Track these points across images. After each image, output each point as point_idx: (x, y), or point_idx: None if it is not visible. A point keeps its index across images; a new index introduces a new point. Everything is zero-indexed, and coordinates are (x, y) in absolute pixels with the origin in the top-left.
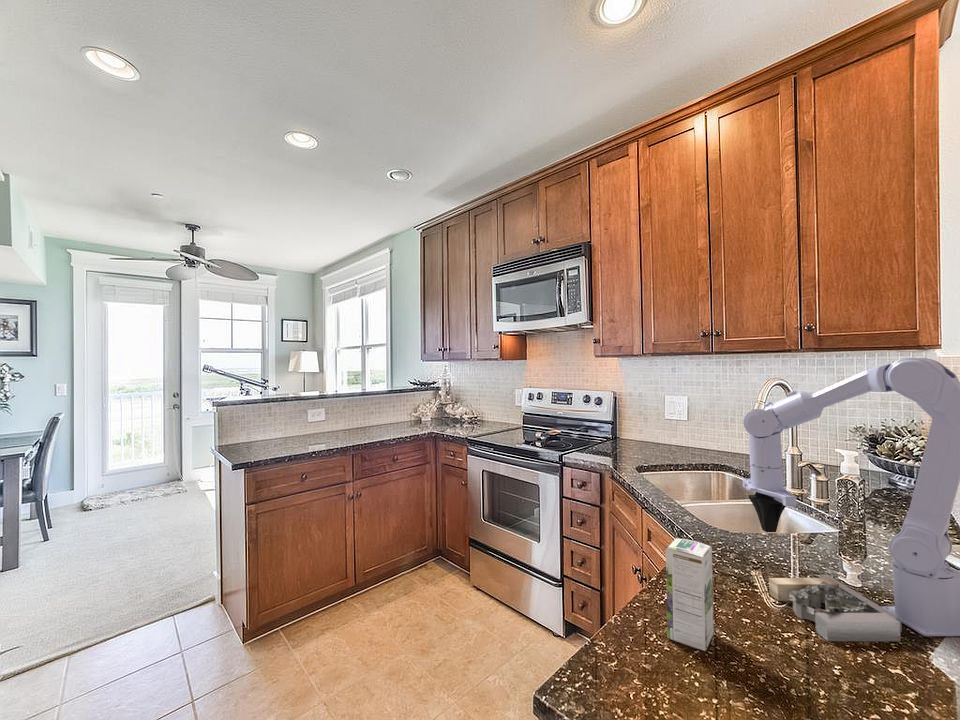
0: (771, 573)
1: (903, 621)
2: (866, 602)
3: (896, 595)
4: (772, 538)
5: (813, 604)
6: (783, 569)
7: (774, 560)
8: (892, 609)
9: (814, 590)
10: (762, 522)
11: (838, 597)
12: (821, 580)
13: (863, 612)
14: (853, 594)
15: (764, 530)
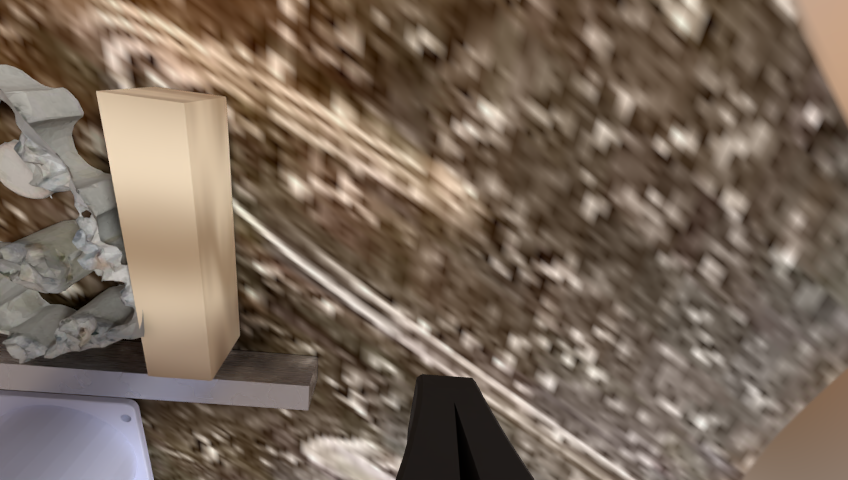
0: (433, 258)
1: (37, 397)
2: (67, 373)
3: (11, 471)
4: (704, 463)
5: (117, 210)
6: (458, 327)
7: (539, 349)
8: (117, 423)
9: (94, 249)
10: (450, 431)
11: (88, 311)
12: (180, 338)
13: None
14: (132, 378)
15: (439, 379)
